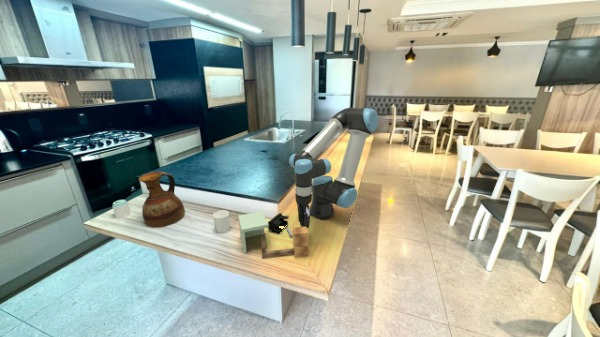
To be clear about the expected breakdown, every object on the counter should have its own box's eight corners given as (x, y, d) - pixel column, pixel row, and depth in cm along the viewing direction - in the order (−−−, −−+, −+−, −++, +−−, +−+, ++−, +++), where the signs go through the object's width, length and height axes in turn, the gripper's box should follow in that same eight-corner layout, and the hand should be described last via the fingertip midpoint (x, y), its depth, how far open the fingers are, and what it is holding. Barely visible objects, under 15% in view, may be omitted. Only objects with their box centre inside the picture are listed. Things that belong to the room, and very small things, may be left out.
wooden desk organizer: (303, 239, 114) (303, 218, 110) (308, 256, 102) (308, 232, 99) (262, 243, 111) (260, 221, 107) (262, 261, 99) (260, 237, 96)
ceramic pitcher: (138, 226, 127) (124, 175, 117) (172, 210, 143) (162, 164, 134) (159, 235, 118) (147, 181, 108) (193, 217, 135) (184, 169, 125)
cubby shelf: (264, 232, 120) (262, 211, 116) (269, 247, 108) (268, 224, 104) (240, 237, 116) (238, 215, 112) (243, 253, 104) (241, 229, 100)
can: (117, 225, 127) (111, 205, 124) (116, 220, 133) (111, 201, 129) (132, 220, 132) (127, 202, 128) (131, 216, 137) (126, 197, 133)
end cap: (277, 222, 129) (277, 211, 127) (288, 225, 126) (288, 214, 124) (267, 231, 121) (266, 220, 119) (278, 235, 118) (277, 223, 116)
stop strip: (288, 230, 121) (288, 227, 121) (292, 237, 115) (292, 234, 115) (286, 230, 121) (286, 227, 120) (290, 238, 115) (290, 234, 114)
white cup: (225, 225, 127) (223, 208, 124) (234, 230, 122) (232, 213, 119) (212, 231, 121) (210, 214, 118) (220, 236, 116) (218, 219, 113)
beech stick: (287, 217, 134) (287, 214, 134) (288, 218, 133) (288, 215, 133) (267, 226, 126) (267, 223, 125) (269, 227, 124) (268, 224, 124)
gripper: (291, 189, 109) (292, 231, 116) (300, 200, 97) (301, 247, 104) (306, 186, 111) (306, 228, 118) (317, 197, 99) (316, 243, 107)
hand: (303, 237), depth 111 cm, fingers closed
